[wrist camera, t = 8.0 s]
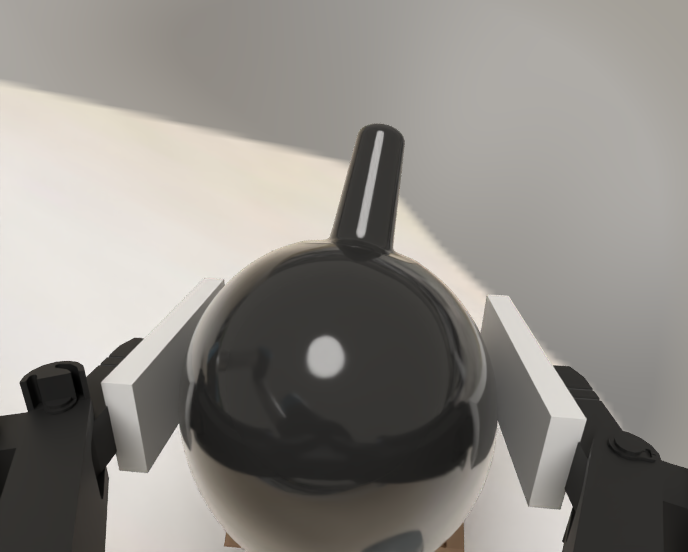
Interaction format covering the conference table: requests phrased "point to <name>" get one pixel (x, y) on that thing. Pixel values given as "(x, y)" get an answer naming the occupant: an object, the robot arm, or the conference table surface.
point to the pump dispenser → (340, 387)
